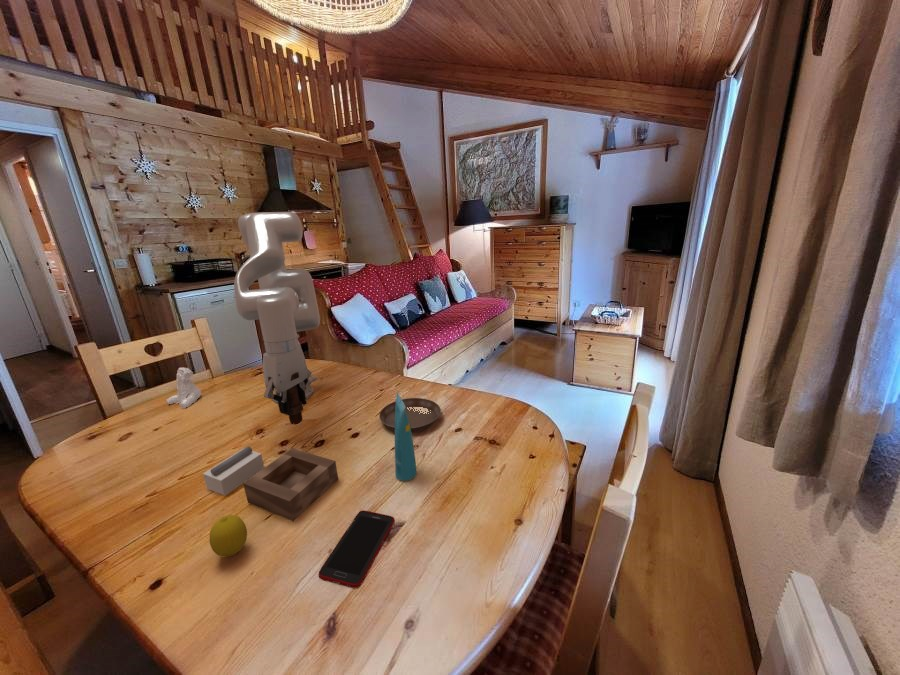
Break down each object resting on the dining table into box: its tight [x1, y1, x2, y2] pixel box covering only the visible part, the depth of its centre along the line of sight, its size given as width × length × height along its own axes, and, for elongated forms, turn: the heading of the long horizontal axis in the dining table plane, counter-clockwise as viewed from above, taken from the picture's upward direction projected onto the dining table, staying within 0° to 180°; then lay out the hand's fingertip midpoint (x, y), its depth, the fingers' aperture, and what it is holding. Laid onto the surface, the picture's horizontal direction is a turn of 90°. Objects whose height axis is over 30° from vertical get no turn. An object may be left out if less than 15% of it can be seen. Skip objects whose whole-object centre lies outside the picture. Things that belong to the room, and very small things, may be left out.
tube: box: [394, 392, 418, 482], centre depth 81 cm, size 7×5×19 cm, turn 26°
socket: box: [242, 447, 339, 522], centre depth 79 cm, size 13×13×5 cm
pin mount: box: [202, 445, 265, 497], centre depth 83 cm, size 10×6×6 cm, turn 156°
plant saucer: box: [378, 397, 442, 434], centre depth 106 cm, size 18×18×3 cm
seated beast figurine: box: [166, 366, 202, 409], centre depth 120 cm, size 10×9×12 cm
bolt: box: [286, 372, 304, 426], centre depth 95 cm, size 6×5×15 cm
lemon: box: [209, 514, 248, 558], centre depth 64 cm, size 6×6×8 cm
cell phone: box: [318, 509, 395, 589], centre depth 66 cm, size 8×15×1 cm, turn 164°
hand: (293, 407), depth 96 cm, fingers closed on bolt, 4 cm apart
